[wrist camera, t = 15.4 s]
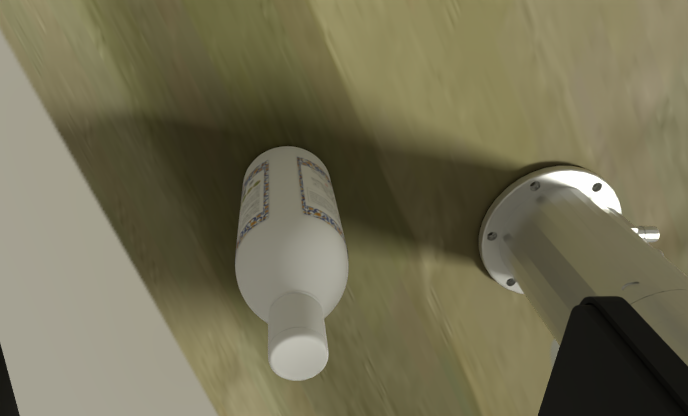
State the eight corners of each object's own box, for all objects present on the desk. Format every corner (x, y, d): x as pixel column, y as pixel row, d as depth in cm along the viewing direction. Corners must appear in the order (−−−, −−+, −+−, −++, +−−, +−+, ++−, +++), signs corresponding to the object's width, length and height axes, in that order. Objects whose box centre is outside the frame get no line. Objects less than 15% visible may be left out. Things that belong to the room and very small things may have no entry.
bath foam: (249, 226, 45) (236, 420, 28) (237, 148, 42) (213, 310, 25) (333, 218, 46) (372, 402, 28) (327, 139, 43) (367, 292, 25)
